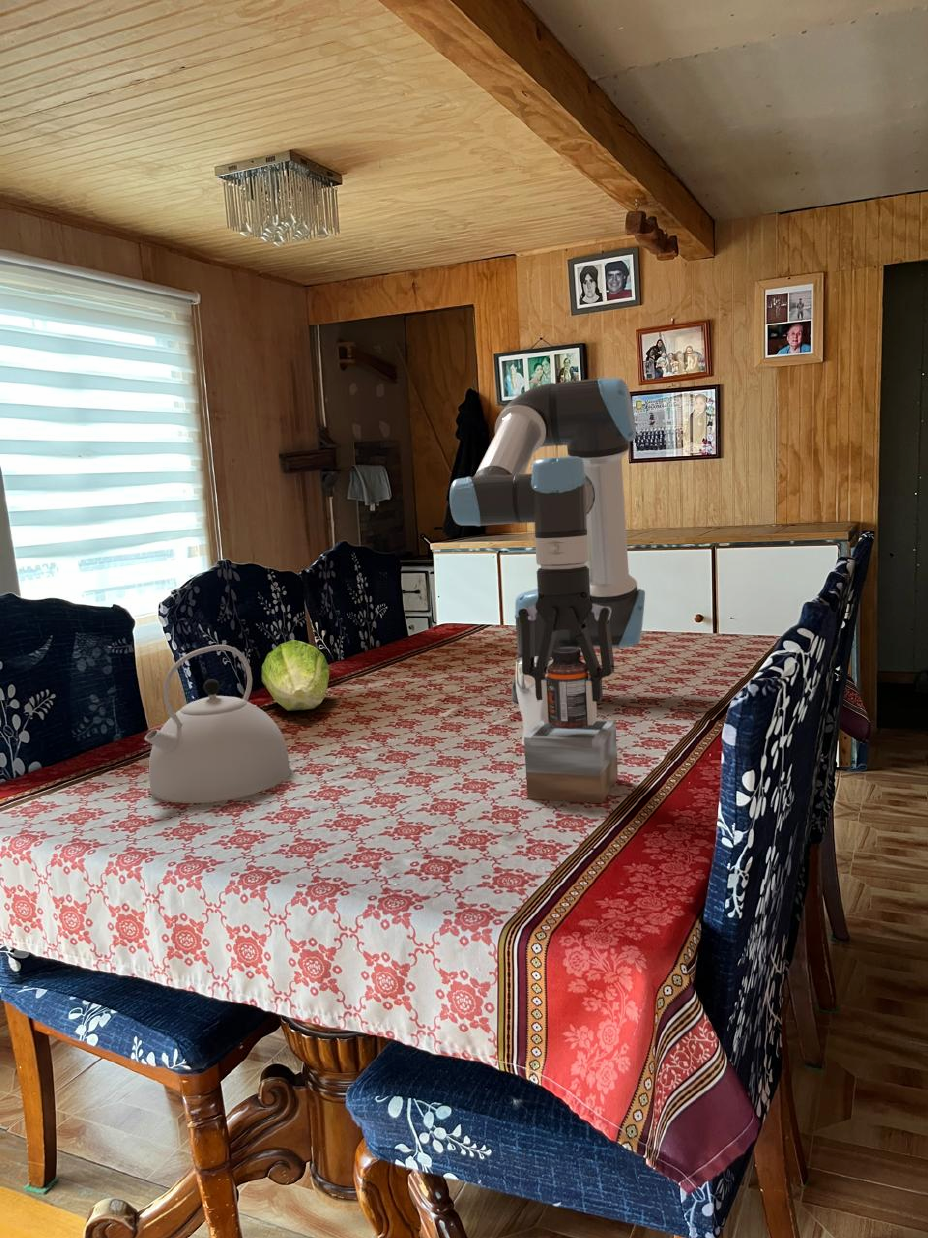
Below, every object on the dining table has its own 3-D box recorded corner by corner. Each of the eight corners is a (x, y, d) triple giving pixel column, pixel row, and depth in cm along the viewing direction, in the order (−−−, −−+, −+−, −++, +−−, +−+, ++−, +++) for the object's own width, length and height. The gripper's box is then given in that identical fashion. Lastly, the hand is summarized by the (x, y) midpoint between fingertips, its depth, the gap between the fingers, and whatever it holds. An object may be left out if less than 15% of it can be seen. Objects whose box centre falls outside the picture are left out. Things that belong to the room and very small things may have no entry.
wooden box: (548, 774, 146) (545, 717, 145) (617, 778, 142) (615, 720, 141) (527, 798, 136) (523, 737, 135) (601, 803, 132) (598, 740, 131)
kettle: (203, 817, 138) (186, 667, 134) (108, 796, 150) (91, 659, 147) (318, 768, 158) (306, 637, 155) (226, 753, 171) (213, 632, 167)
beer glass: (562, 738, 166) (558, 655, 164) (553, 749, 159) (549, 663, 157) (525, 737, 168) (520, 655, 166) (514, 748, 162) (509, 663, 160)
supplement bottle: (546, 721, 140) (542, 647, 139) (585, 717, 141) (582, 644, 139) (553, 731, 134) (549, 654, 133) (594, 727, 135) (591, 651, 133)
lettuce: (341, 723, 192) (268, 738, 189) (332, 690, 215) (267, 703, 212) (329, 656, 188) (254, 670, 185) (321, 629, 211) (255, 641, 209)
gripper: (492, 570, 134) (501, 726, 138) (622, 566, 127) (629, 731, 131) (508, 564, 141) (517, 713, 145) (633, 561, 134) (639, 717, 138)
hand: (570, 721), depth 138 cm, fingers closed on supplement bottle, 6 cm apart
